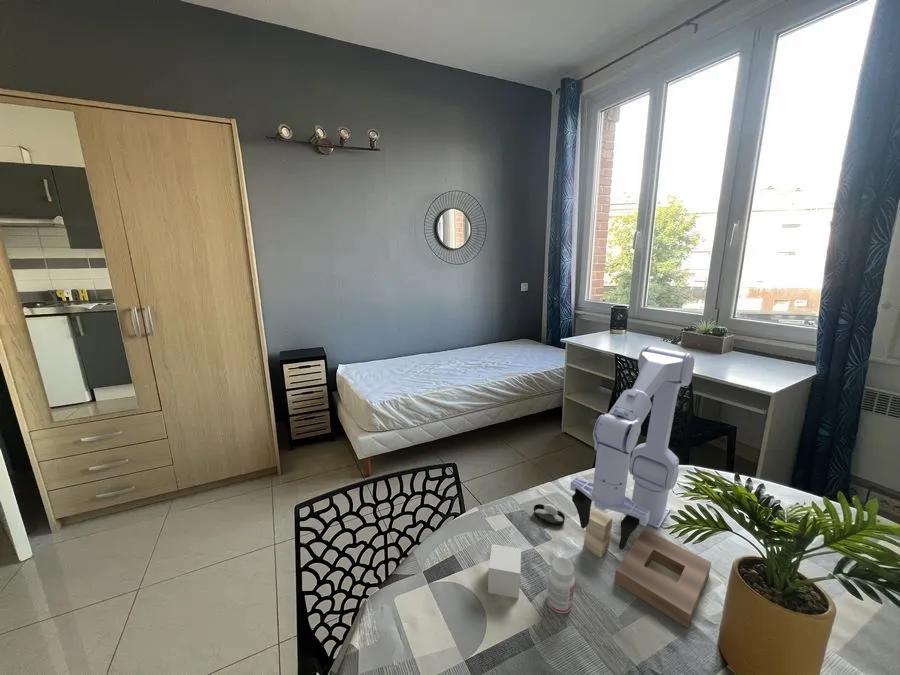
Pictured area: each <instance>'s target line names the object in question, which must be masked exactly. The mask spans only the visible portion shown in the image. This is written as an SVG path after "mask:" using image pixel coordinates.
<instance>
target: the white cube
mask: <svg viewBox="0 0 900 675" xmlns="http://www.w3.org/2000/svg"><path fill="white" fill-rule="evenodd" d="M489 556H490V557H489V564H488V579H487V582H488V583H487V593H489V594H494V595H499V596H504V597H510V598H514V599H520V586H521V585H520V584H521V569H522V566H521V564H522V548H517V547H513V546H505V545H500V544H495V543H493V544H492V543H491V549H490V555H489Z"/></svg>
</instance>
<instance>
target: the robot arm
mask: <svg viewBox="0 0 900 675" xmlns="http://www.w3.org/2000/svg"><path fill="white" fill-rule="evenodd" d="M694 367H695V356H694V355H693V353H690V352H682V351H676V350H672V349H671V350H670V349H665V348H659V347H654V346H651V345H645V346H644V347H643V348H642V349H641V350H640V353H639V355H638V360H637V368H638V373H639V374H638V376H637V377H636V380H635V382H634V384H633V386H632V388H630V389H625V390H623V391H622V393H621V394H620V396H619V397H618V398H617V400H616V402H615V403H614V404H613V406H612V407H611V409H610V410H609V412H607V413H605V414H601V415H599V416H598V418H597V420H596V421H595V424H594V428H593V432H592V437H593V438H592V439H593V441H594V451H596V458H595V466H594V473H593V474H594V475H593V482H590V481H587V480H583V479H580V478H578V477H574V478H573V479H572V480H570V487H569V490H571V491H573V492H574V494H573V495H572V496H571V501H572V503H573V504H574V506H575V509H576V511H577V514H578V517H579V523H580V528H581V529H583V530H584V529H586V526H587V525H588V524H589V519H590V513H591V507H592V503H594V507H595V508H596V509H598V510H600V511H606V510H609V511H614V512H617V513H621V514H624V515H625V516H624V517H623V518H622V520H621V521H620V522H619V523H620V524H619V525H620V538H619V543H618V549H619V550H620V551H624V550H625V548H626V547H627V545H628V541H629V539H630V537H631V535H632V534H633V533H634V532H635V531H636V530H637V528H638V527H639V525H641V526H643V527H646V525H647V524H648V525H650V526H652V527H654V528H656V529H659V528H660V526H662V523H664V521H665V519H666V518H667V516H668V514H669V513H670V512H671V508H669V507H668V506H667V503H668V496H669V491H670V490H673V489H674V487H676V486H675V485H676V483H677V480H678V478H679V471H680V468H679V466H680V465H679V464H680V461H679V460H680V459H679V458H678V456H677V455H676V454H675V453H674V452H673V451H672V450H670V448H669V443H670V438H671V432H672V427H673V422H674V415H675V410H676V404H677V400H678V396H679V395H678V394H679V391H680V389H681V387H686V386H689V385H690V384H691V382H692V379H693V373H694ZM652 397H653V399H652V401H651V398H652ZM650 412H651V413H650ZM649 413H650V417H649V421H648V422H649V423H648V428H647V434H646V439H645V441H646V442H644V443H639V444H638V443H637V442H638V439H639V436H640V434H641V431H642V430H641V428H642V427H641V426H642V425H643V423H644V421H645V419H646V418H647V416H648V414H649ZM637 444H638V445H637ZM631 453H632V454H631ZM629 474H630V475H631V476H632V480H633V481H634V482H633V489H632V496H631V499H630V498H629V497H628V496H626V490H627V489H626V488H627V483H628V475H629Z"/></svg>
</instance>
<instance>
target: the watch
mask: <svg viewBox="0 0 900 675" xmlns="http://www.w3.org/2000/svg"><path fill="white" fill-rule="evenodd" d="M537 510H543V511H545V512H546V513H547V514H549V515H551V516H558V517H561V519H562V520H561V521H551V520H549V519H546V518H544V517H542V516H540V515H538V514H537V512H536V511H537ZM533 515H534V517H535V519H537V520H538V521H539V522H540V523H542V524H545V525H547V526H552V527H556V528H558V527H562V526H563V525H564V523H565V522H566V520H565V514H564V513H563V511H560V510H558V508H557V507H556V506H555V505H554V504H550V503H548V504H541V503H538V504H535V505H534V506H533Z"/></svg>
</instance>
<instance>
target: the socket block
mask: <svg viewBox="0 0 900 675" xmlns="http://www.w3.org/2000/svg"><path fill="white" fill-rule="evenodd" d="M621 560H622V561H620V563H619V565H618V566H617V568H616V569H615V574H614V581H613V582H614V583H615V584H617V585H619V586H620V587H621V588H623V589H624V590H626V591H628V592H629V593H631V594H633V595H634V596H635V597H637V598H639V599H641V600H642V601H644V602H645V603H647V604H649V605H650V606H652V607H653V608H655V609H656V610H659V612H661V613H663V614H665V615H666V616H668V617H669V618H670V619H673V620H674V621H675V622H678V623H679V624H681V625H682V626H683V627H685V628H687V629H688V628H689V627H690V623H691V620H692V618H693V616H694V613H695V610H696V607H697V606H698V603H699V601H700V598H701V596H702V593H703V590H704V587H705V585H706V583H707V581H708V578H709V576H710V571H711V566H712V561H710V560H708V559H706V558H704V557H701V556H699V555H698V554H696V553H693V552H692V551H691V550H688V549H685V548H684V547H682V546H680V545H678V544H675V543H674V542H672V541H670V540H668V539H666V538H664V537H662V536H660V535H658V534H656V533H654V532H652V531H650V530H648V529H646V528H643V529H642V531H641V532H640V534H639V536H638V537H637V538H636V540H635V541H634V543H633V544H632V545H631V548H629V549H628V551H627V553H626V555H625V556H624V557H623V559H621Z"/></svg>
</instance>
